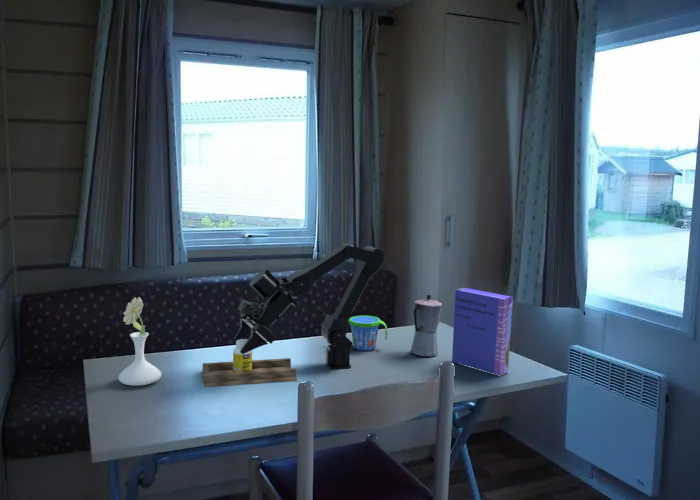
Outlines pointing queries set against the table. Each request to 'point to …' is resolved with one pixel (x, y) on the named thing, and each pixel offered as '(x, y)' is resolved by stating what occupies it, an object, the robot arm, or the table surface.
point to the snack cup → (365, 331)
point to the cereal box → (482, 330)
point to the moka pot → (426, 327)
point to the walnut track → (248, 373)
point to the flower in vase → (138, 350)
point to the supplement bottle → (241, 358)
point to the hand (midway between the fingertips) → (237, 348)
